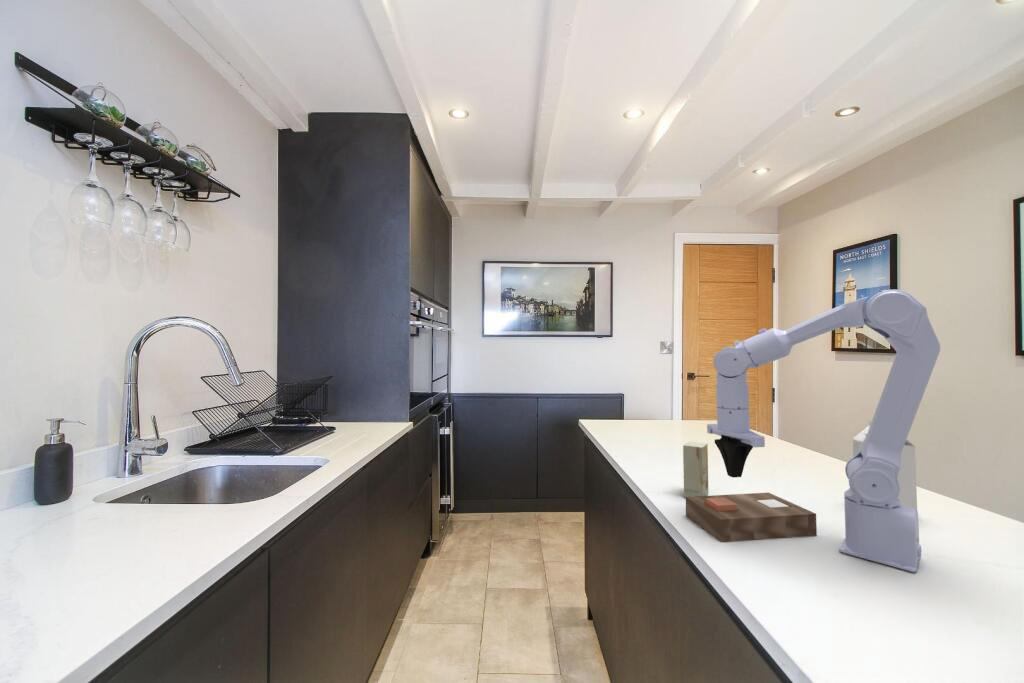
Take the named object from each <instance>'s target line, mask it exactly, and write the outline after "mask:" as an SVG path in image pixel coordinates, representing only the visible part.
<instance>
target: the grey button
mask: <svg viewBox="0 0 1024 683" xmlns="http://www.w3.org/2000/svg"><path fill="white" fill-rule="evenodd" d="M756 501H757V502H759V503H761V504H763V505H765V506H767V507H769V508H784V507H789V506H787V505H785V504H783V503H781V502H779V501H777V500H774V499H771V500H756Z"/></svg>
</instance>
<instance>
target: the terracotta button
mask: <svg viewBox="0 0 1024 683" xmlns="http://www.w3.org/2000/svg"><path fill="white" fill-rule="evenodd" d="M706 505H708V506H709V507H711V508H713V509H714V510H716V511H733V510H737V504H736V503H734V502H732V501H730V500H728V499H726V498H725V497H720V498H706Z"/></svg>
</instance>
